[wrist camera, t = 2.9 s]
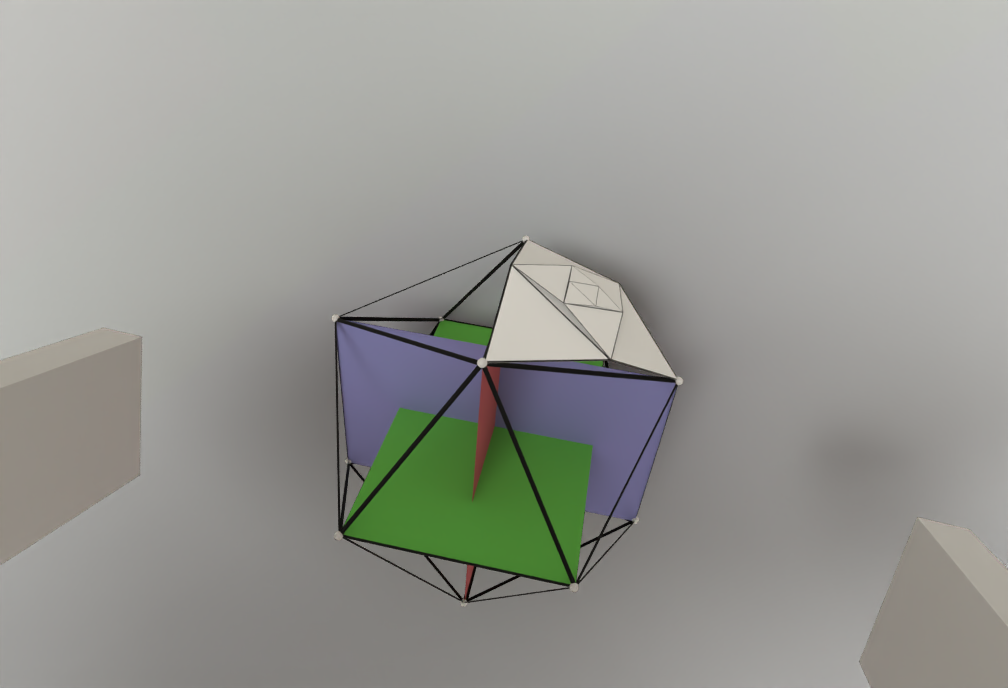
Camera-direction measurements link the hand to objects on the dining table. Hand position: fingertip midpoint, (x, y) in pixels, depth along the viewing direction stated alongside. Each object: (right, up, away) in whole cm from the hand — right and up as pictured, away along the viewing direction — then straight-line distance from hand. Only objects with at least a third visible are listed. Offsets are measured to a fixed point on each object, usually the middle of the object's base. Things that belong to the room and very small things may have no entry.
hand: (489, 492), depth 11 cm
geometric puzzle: (+1, +2, +6) cm, 6 cm away
